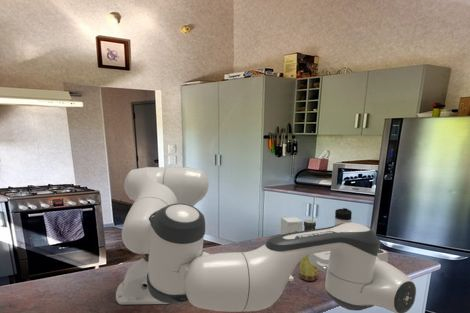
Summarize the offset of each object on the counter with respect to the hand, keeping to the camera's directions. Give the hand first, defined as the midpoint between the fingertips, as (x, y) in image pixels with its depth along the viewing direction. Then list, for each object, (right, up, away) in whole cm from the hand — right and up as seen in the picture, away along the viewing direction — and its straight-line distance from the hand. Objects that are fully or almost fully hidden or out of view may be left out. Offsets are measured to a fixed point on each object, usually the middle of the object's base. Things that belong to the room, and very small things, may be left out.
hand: (330, 246), depth 91 cm
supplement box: (-4, -13, +42) cm, 44 cm away
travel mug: (+14, -14, +30) cm, 36 cm away
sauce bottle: (-3, -15, +13) cm, 20 cm away
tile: (-16, -14, +15) cm, 26 cm away
